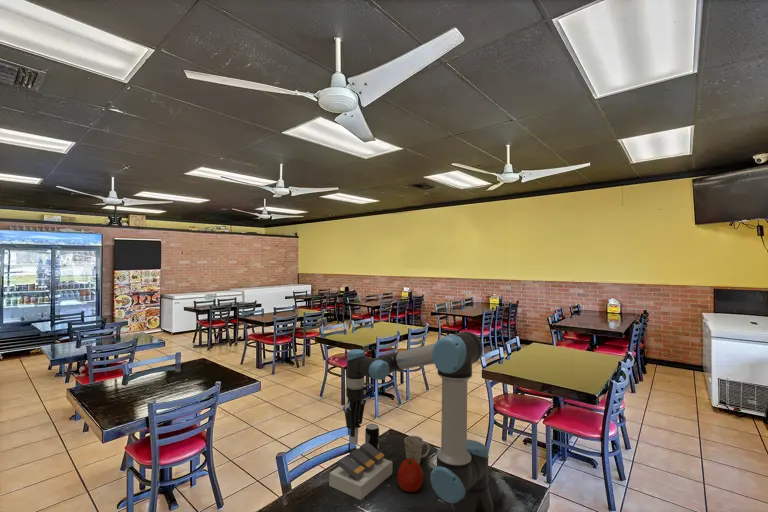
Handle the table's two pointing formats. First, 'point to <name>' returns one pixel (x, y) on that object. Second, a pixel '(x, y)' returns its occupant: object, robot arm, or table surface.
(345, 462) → the rocker left
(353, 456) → the rocker mid
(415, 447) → the mug
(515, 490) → the table surface
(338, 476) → the switch unit
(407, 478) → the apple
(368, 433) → the beverage can
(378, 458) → the rocker right
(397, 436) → the table surface
